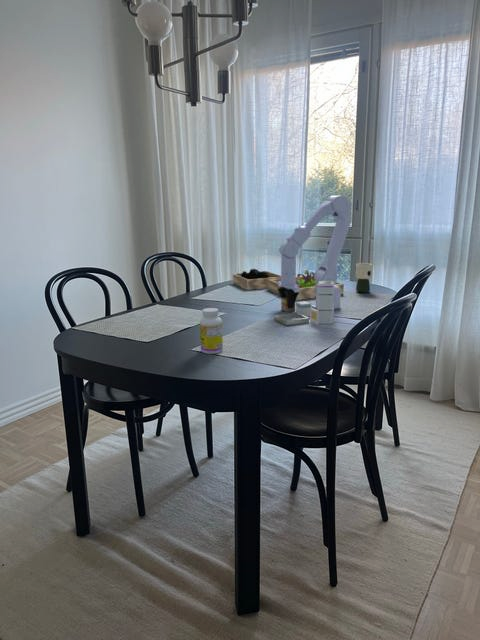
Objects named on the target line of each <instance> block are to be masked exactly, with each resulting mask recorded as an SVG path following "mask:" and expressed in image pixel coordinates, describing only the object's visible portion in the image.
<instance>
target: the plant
mask: <svg viewBox="0 0 480 640" xmlns="http://www.w3.org/2000/svg"><path fill="white" fill-rule="evenodd" d="M304 274H305V275H304ZM304 274H303V273H297V275H296V277H301V276H303V277H304V278H305V280H303V279H302V282H301V281H299V280H297V281H298V282H299V283H300V284H297V286H298V287H300V288H306V287H315V286H316V282H317V281H314V282H313V283H312V279H311V275H313V276H314V274H315V272H309V270H305V271H304ZM305 276H307V277H305Z"/></svg>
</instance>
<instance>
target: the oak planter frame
mask: <svg viewBox="0 0 480 640" xmlns="http://www.w3.org/2000/svg"><path fill="white" fill-rule="evenodd" d="M304 276H305V277H307V275H304ZM302 279H303V280H305V278H304V277H303V276H302V275H300V277H297V276H296V284H300V283H299V282H298V281H297V280H299V281H301V282H302ZM311 279H312V283H313V282H314V281H316V280H315V278H314V276H313V275H312V274H311ZM278 281H281V278H280V279H269V280H268V288H267V290H268V291H269V290H271V291H270V292H272V291H273V292H272V293H274V292H275V293H274V294H277V295H279V296H280V294H279V292H278V288H281V287H279V286H278ZM316 284H317V282H316ZM335 285H337V286H338V287H339V288H340V292H341V294H343V295H344V291H345V290H344V288H345V284H344V283H343V282H338V281H336V283H335ZM315 297H316V286H315V287H306V288H300V292H299V294H298V296H297V298H296V301H300V300H309V299H308V298H311V299H316V298H315Z"/></svg>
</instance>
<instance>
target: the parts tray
mask: <svg viewBox="0 0 480 640" xmlns="http://www.w3.org/2000/svg"><path fill="white" fill-rule="evenodd" d="M274 320H275V321H277V322H278V323H280V324H282V325H284V326H287V327H288V326H294V325H302V324H310V317H309V316H307V317H306V316H304V315H302V314H300V313H297V312H295V311H294V312H288V313H287V312H286V313H280V314H275V315H274Z"/></svg>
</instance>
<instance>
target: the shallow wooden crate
mask: <svg viewBox="0 0 480 640" xmlns="http://www.w3.org/2000/svg"><path fill="white" fill-rule="evenodd" d="M263 271H264V272H267V274H268V275H269V276H270V278H261V279H250V280H248V279H246V278H243V277H241V274H242V273H243V272H239V273H232V284H233V285H235V286H237V287H239V288H242V289H243V290H246V291H254V289H256V290H262V288H266V289H268V280H269V279H280V278H281V274H277V273H275V272H272V271H269V270H262V271H259V272H263Z"/></svg>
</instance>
